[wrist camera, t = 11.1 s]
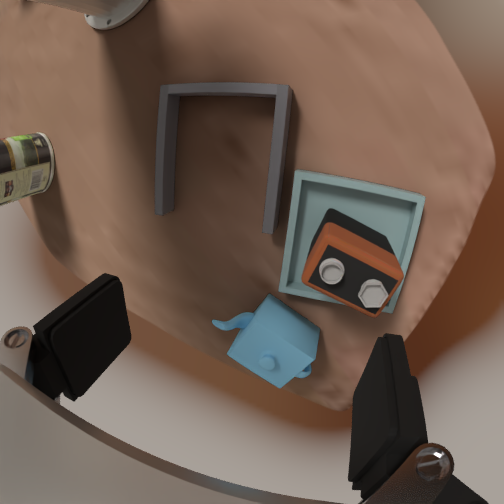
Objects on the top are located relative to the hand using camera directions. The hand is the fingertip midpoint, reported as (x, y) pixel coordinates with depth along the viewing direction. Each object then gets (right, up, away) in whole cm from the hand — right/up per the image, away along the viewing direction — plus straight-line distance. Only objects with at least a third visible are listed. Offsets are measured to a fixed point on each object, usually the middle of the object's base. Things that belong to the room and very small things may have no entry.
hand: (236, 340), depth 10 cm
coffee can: (-34, +18, +27) cm, 47 cm away
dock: (-2, +13, +19) cm, 24 cm away
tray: (+10, +4, +19) cm, 22 cm away
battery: (+10, +4, +19) cm, 22 cm away
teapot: (+3, -5, +25) cm, 26 cm away
